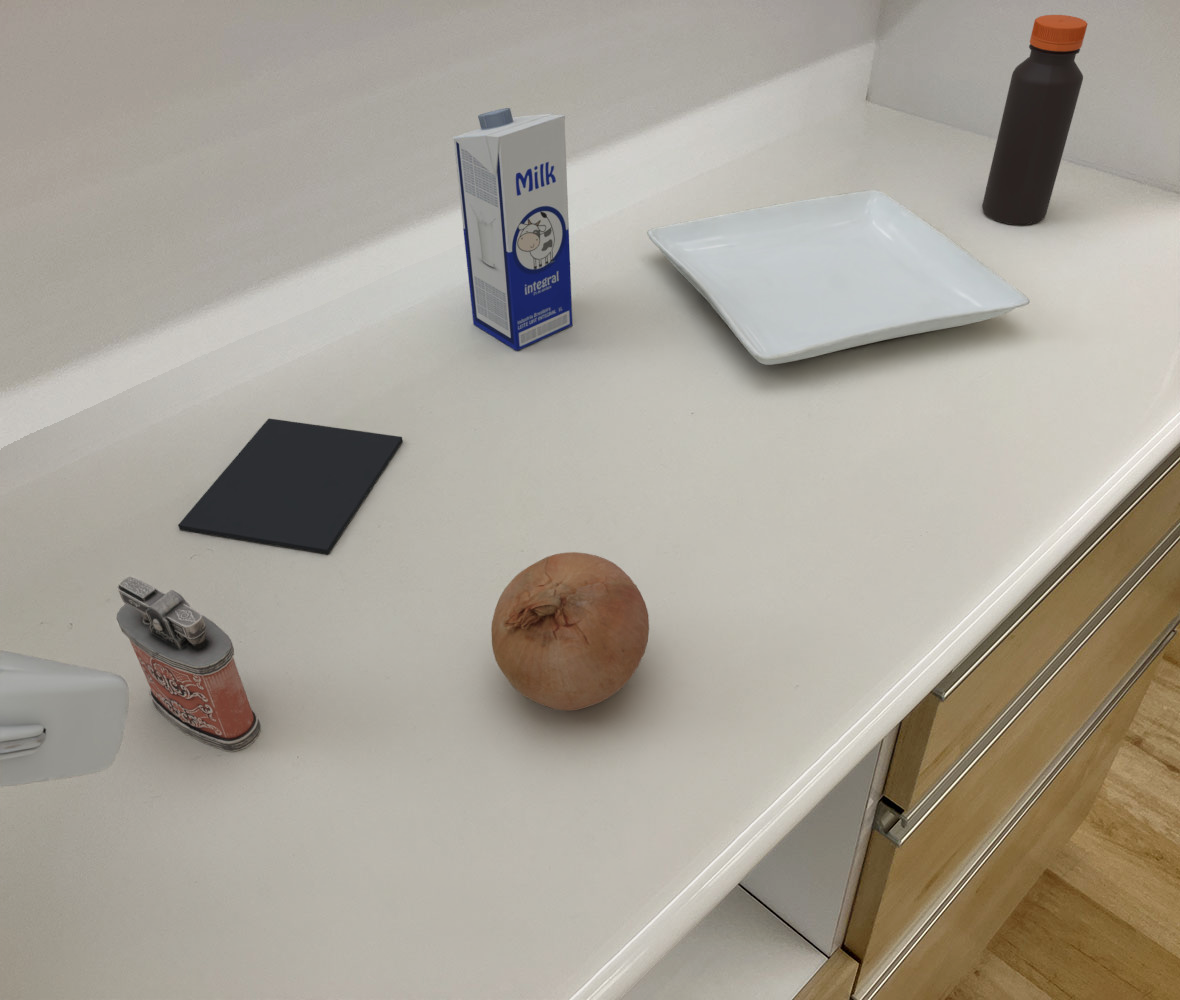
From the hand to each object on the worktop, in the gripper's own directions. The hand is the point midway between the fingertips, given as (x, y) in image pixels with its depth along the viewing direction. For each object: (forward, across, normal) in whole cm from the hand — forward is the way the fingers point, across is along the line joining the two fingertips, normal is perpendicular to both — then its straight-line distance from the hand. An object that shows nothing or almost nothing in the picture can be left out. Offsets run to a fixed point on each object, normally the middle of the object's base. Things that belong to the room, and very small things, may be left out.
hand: (4, 670), depth 47 cm
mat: (+33, +5, -12) cm, 36 cm away
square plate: (+61, -32, -40) cm, 79 cm away
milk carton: (+52, -5, -31) cm, 61 cm away
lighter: (+18, 0, +4) cm, 18 cm away
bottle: (+77, -51, -56) cm, 108 cm away
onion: (+23, -21, -2) cm, 32 cm away
